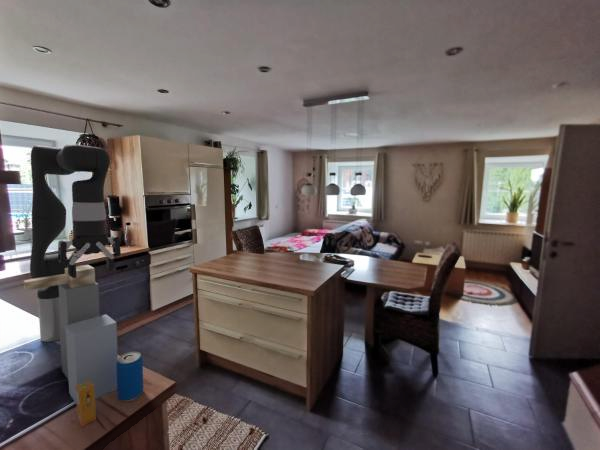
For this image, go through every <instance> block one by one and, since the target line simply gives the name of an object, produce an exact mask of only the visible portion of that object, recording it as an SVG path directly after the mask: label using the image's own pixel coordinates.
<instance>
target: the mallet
mask: <svg viewBox="0 0 600 450" xmlns="http://www.w3.org/2000/svg"><path fill="white" fill-rule="evenodd" d="M95 270H96V269H95V267H93V266H92V265H89V264H83V265H76V278H72V277H71V276H69V274H68V268H65V274H60V275H54V276H48V277H42V278H36V279H33V278H31V279H25V280H23V289H24V290H25V291H26V292H27V291H33V290H39V289H40V288H44V287H49V286H55V285H60V284H65V283H66V284H67V285H68V286H69V287H70V288H76V287H81V286H86V285H91V284H95V282H96V272H95Z"/></svg>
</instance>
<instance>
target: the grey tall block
mask: <svg viewBox="0 0 600 450" xmlns="http://www.w3.org/2000/svg"><path fill="white" fill-rule="evenodd" d="M117 327H118V326H117V321H115V320H114V319H113V318H112V317H110V316H109V315H108V314H102V315H100V316H98V317H94V318H91V319H87V320H84V321H80V322H77V323H73V324H70V325H66V326H65V328H66V345H67V362H68V379H69V380H68V379H67V380H68V393H69V395H70V397H71V399H72V400H73V401H74V404H76V405H77V403H76V391H75V386H77V385H80V384H82V383H84V382H86V381H88V380H90V381H91V383H93V384H94V394H95V400H97V399H98V398H100V397H102V396H104V395H106V394H108V393H110V392H112V391H115V390H117V362H118V359H119V356H118V354H119V353H118V334H117V333H118V332H117V330H118V328H117Z"/></svg>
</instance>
